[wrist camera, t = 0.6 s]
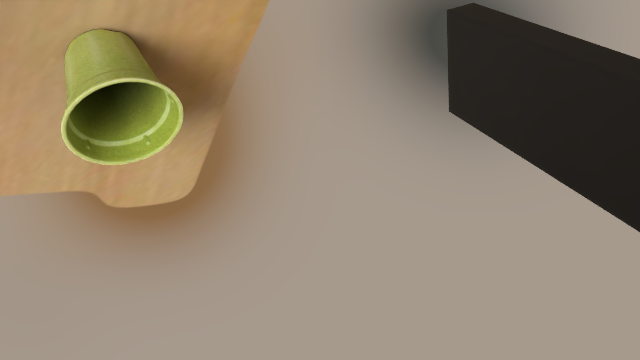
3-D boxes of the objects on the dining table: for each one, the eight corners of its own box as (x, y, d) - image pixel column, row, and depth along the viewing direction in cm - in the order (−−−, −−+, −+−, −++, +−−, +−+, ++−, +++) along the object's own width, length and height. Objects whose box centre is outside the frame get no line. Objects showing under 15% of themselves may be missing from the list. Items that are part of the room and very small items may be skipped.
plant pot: (85, 113, 54) (106, 181, 50) (16, 47, 46) (34, 121, 42) (172, 65, 55) (201, 128, 50) (118, -10, 47) (148, 58, 42)
